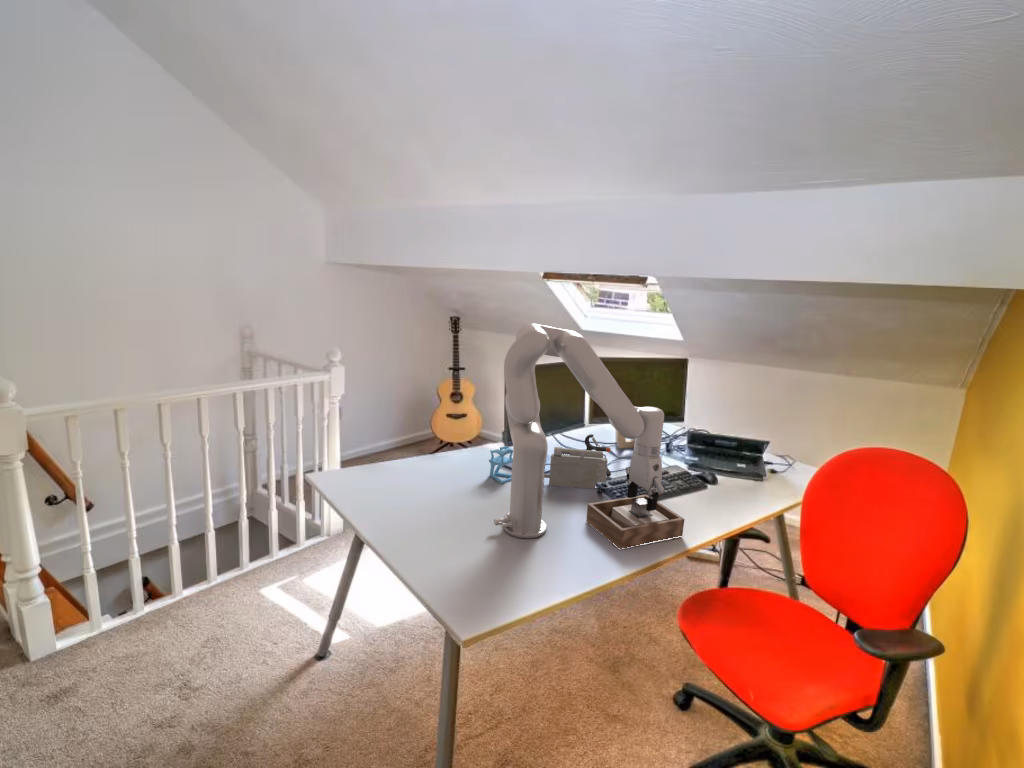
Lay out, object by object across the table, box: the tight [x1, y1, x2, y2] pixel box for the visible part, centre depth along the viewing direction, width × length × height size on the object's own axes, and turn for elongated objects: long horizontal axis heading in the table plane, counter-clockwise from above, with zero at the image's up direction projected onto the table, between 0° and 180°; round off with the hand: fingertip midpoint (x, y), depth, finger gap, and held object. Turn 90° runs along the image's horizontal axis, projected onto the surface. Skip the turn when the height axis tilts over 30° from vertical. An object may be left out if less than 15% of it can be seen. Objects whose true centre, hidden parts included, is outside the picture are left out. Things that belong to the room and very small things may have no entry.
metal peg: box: [631, 498, 650, 519], centre depth 165 cm, size 4×4×8 cm
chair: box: [488, 445, 513, 485], centre depth 199 cm, size 8×8×12 cm
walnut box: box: [586, 494, 685, 549], centre depth 165 cm, size 22×18×6 cm
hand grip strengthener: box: [584, 433, 612, 478], centre depth 207 cm, size 2×12×15 cm, turn 58°
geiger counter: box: [544, 446, 608, 489], centre depth 195 cm, size 14×6×25 cm
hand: (641, 503), depth 165 cm, fingers open, 9 cm apart
